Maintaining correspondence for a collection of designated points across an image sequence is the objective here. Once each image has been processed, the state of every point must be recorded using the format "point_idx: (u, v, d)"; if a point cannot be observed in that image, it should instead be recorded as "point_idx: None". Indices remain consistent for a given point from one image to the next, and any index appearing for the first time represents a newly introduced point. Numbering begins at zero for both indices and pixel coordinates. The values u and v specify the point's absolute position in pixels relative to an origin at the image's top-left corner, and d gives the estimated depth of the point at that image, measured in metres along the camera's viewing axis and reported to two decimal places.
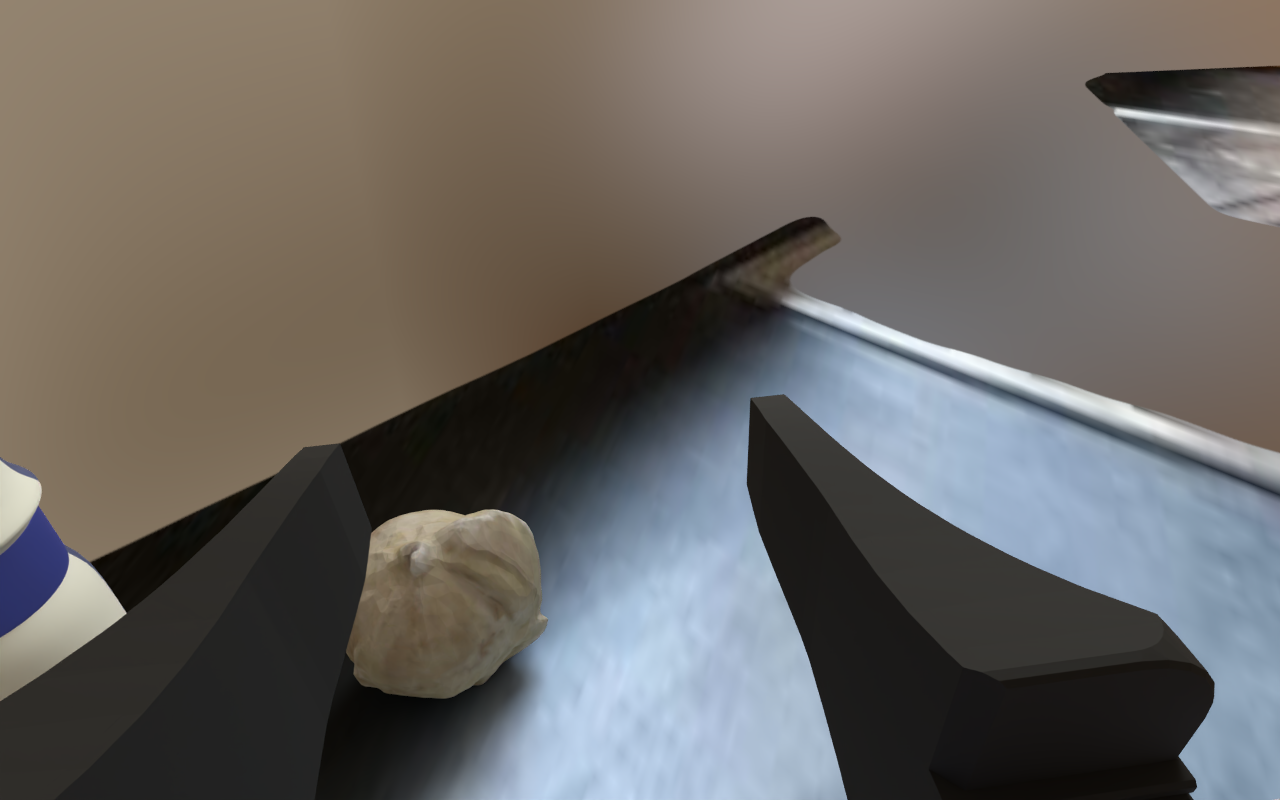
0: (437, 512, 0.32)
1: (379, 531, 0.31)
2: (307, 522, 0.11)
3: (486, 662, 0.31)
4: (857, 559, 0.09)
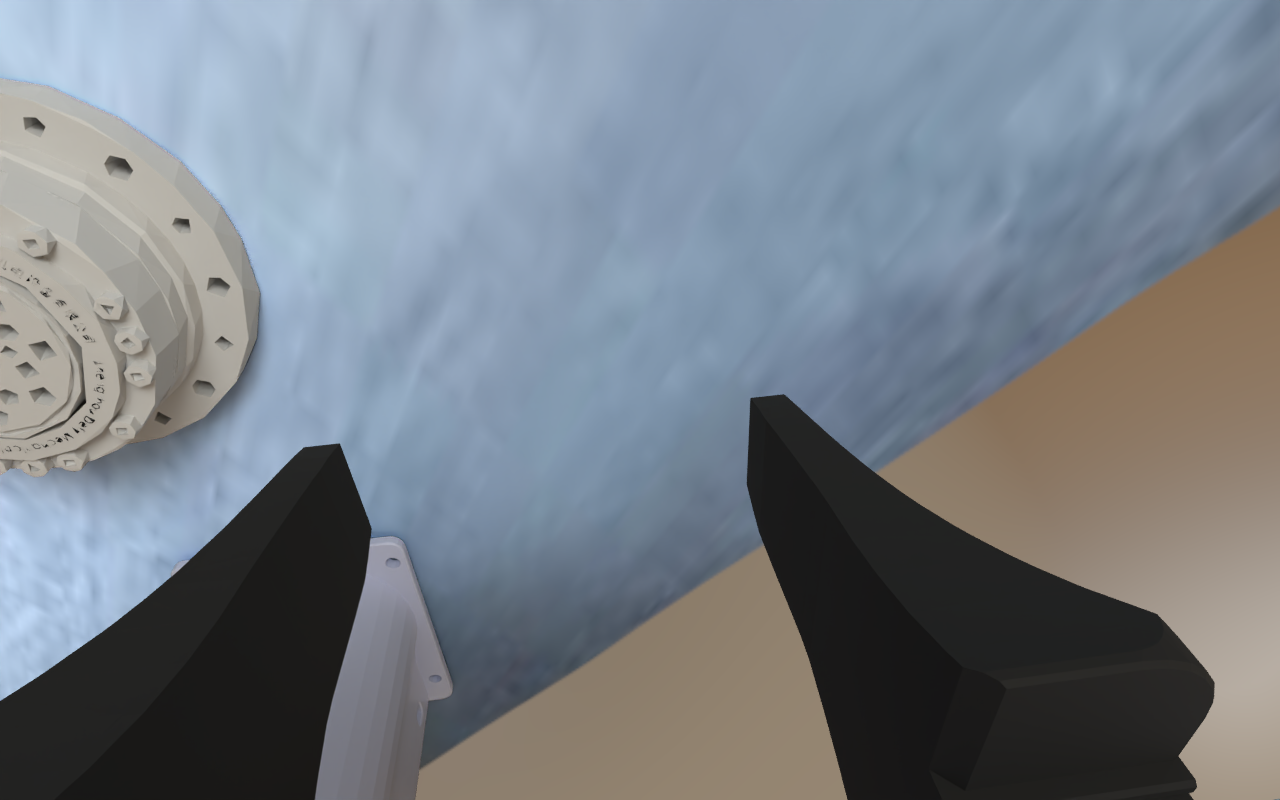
0: None
1: None
2: (307, 523, 0.11)
3: None
4: (857, 559, 0.09)
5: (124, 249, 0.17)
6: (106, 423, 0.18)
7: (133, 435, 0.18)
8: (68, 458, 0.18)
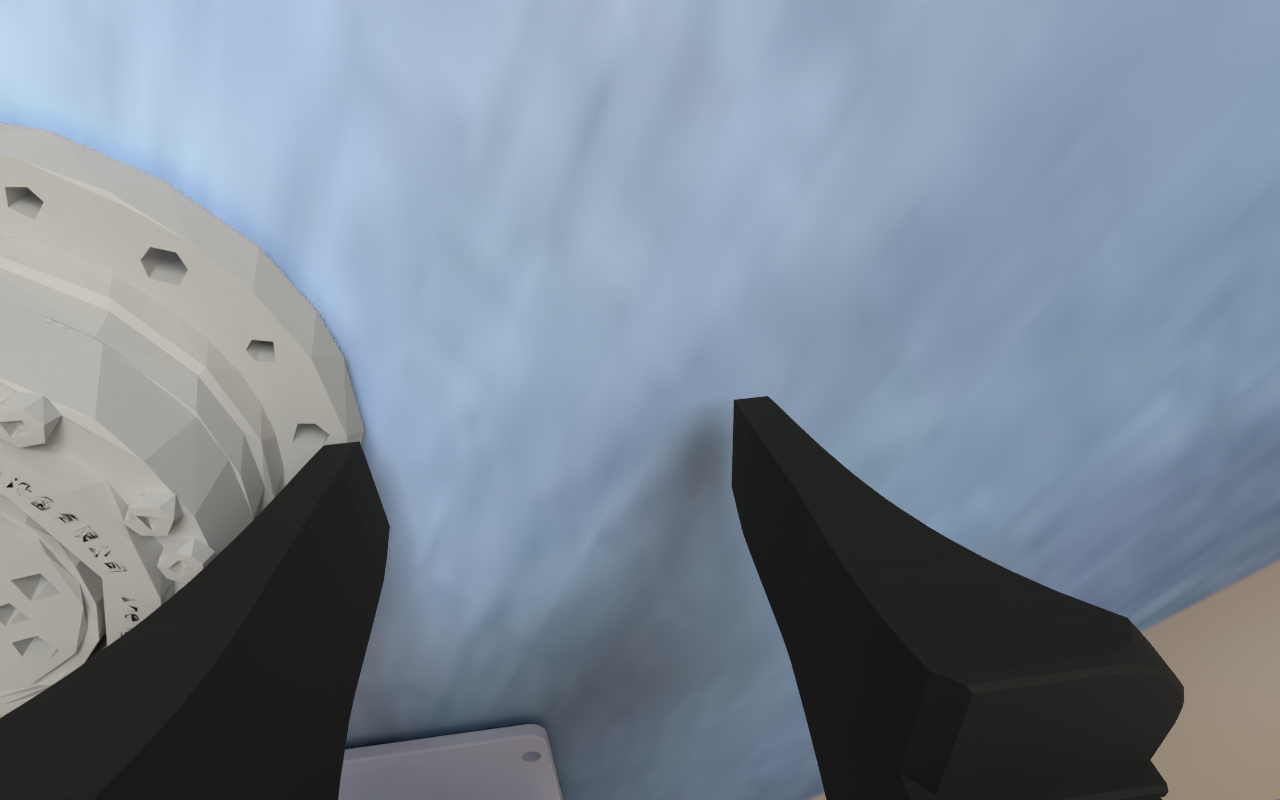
0: None
1: None
2: (330, 520, 0.11)
3: None
4: (833, 562, 0.09)
5: (174, 404, 0.10)
6: None
7: None
8: None
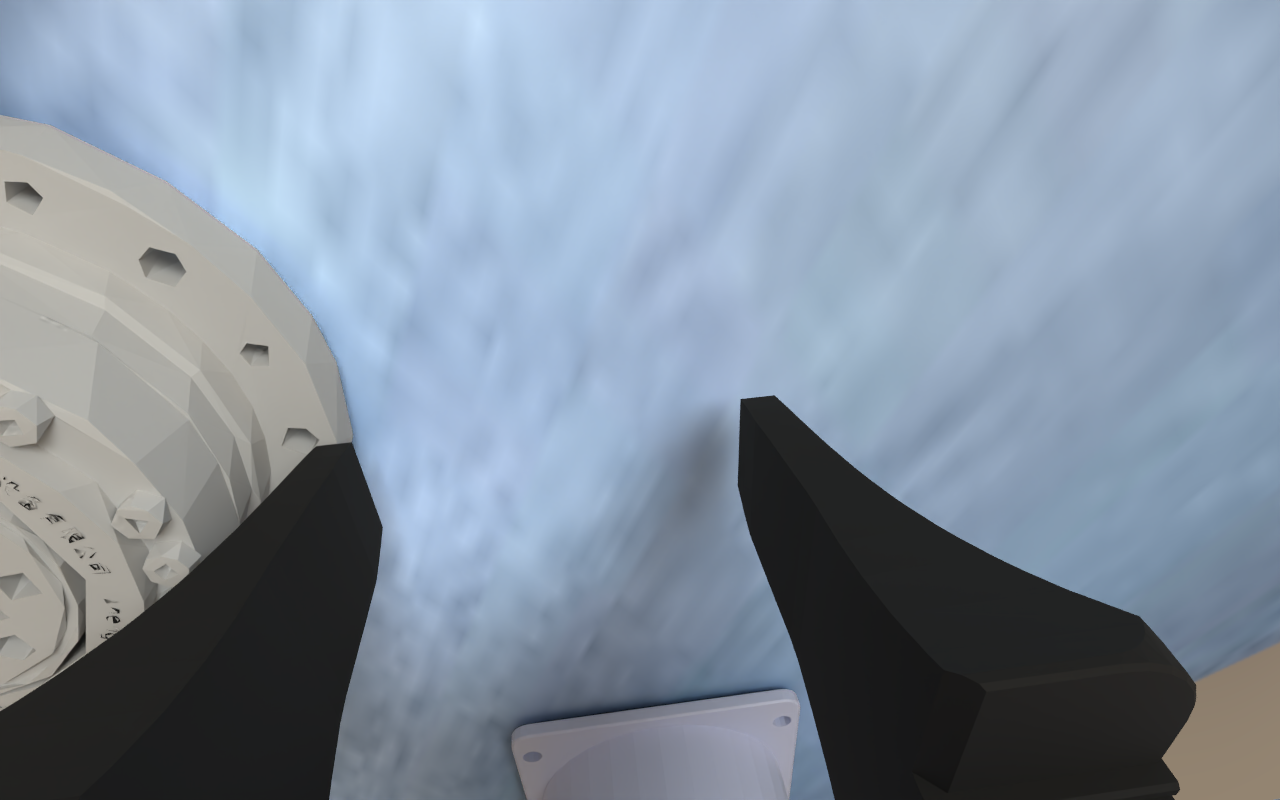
0: None
1: None
2: (322, 521, 0.11)
3: None
4: (843, 561, 0.09)
5: (167, 407, 0.10)
6: None
7: None
8: None
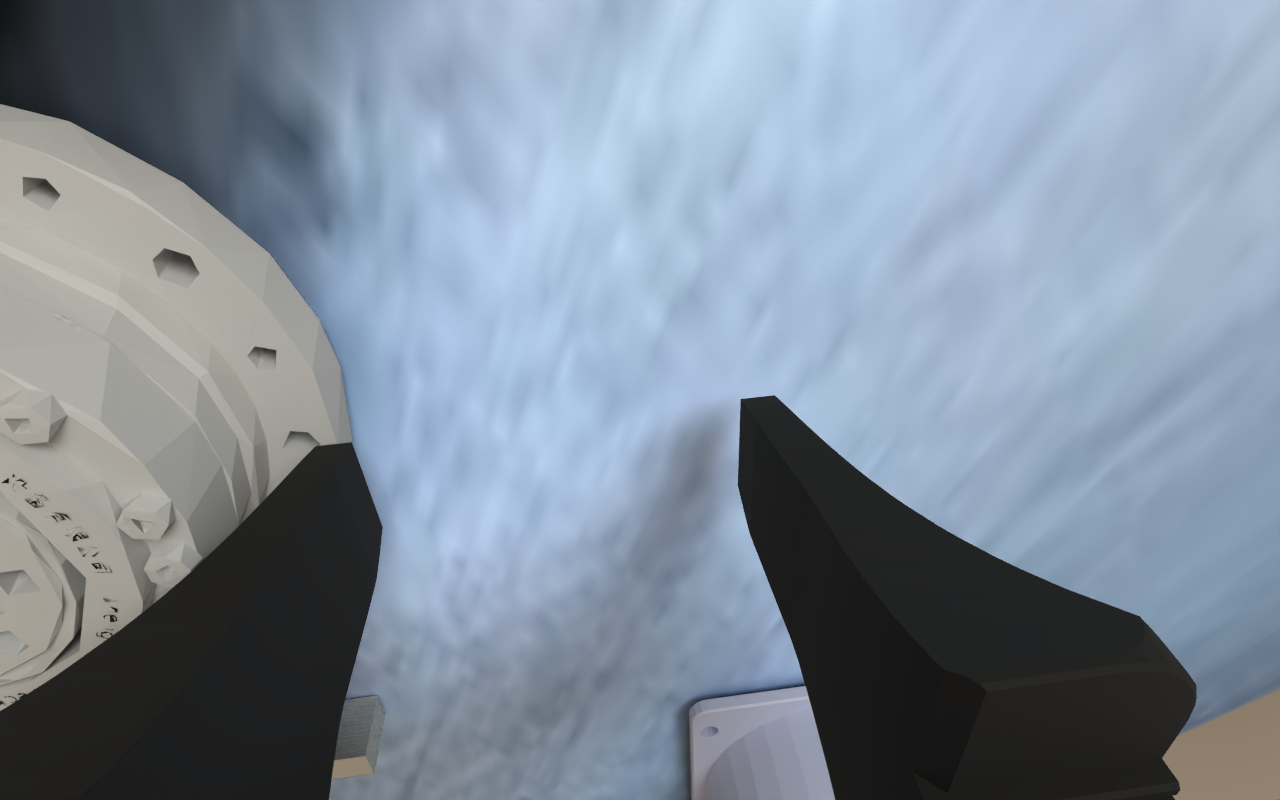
0: None
1: None
2: (321, 521, 0.11)
3: None
4: (843, 561, 0.09)
5: (175, 407, 0.10)
6: None
7: None
8: None
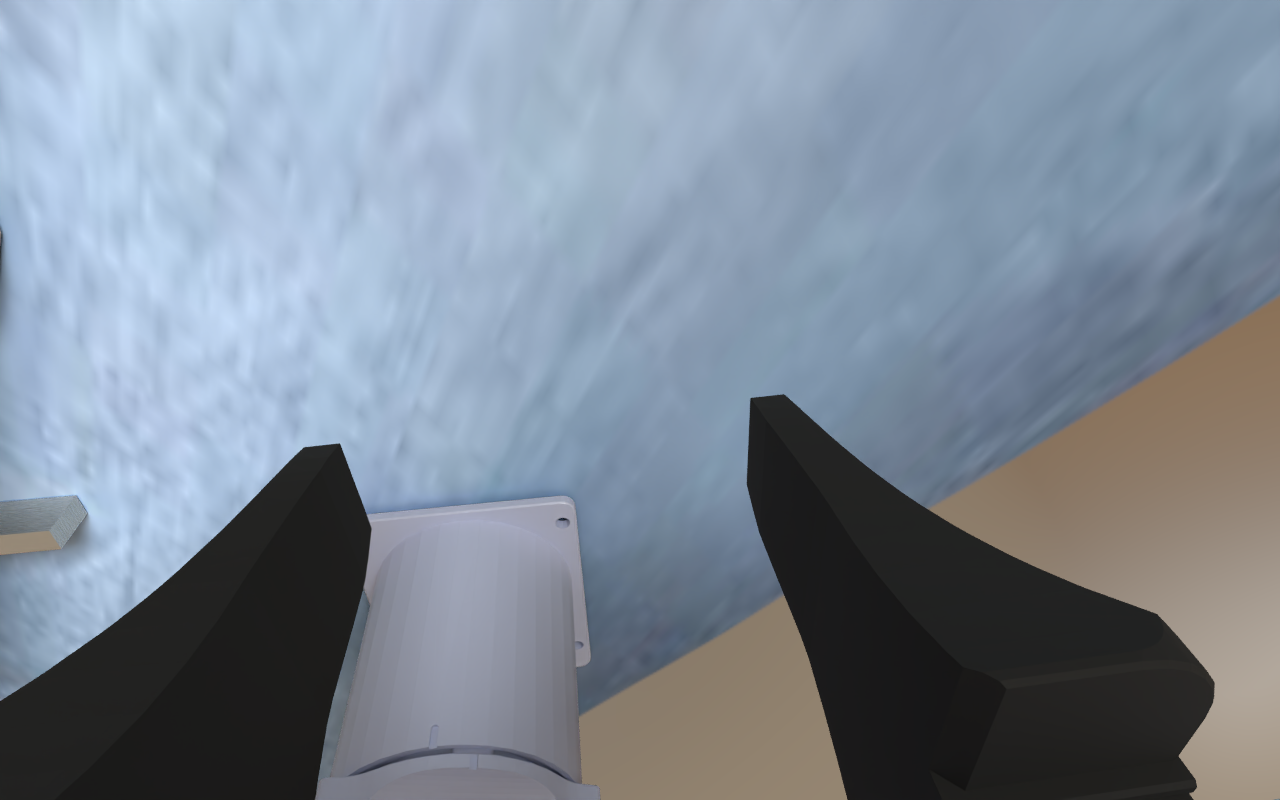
0: None
1: None
2: (307, 522, 0.11)
3: None
4: (857, 559, 0.09)
5: None
6: None
7: None
8: None
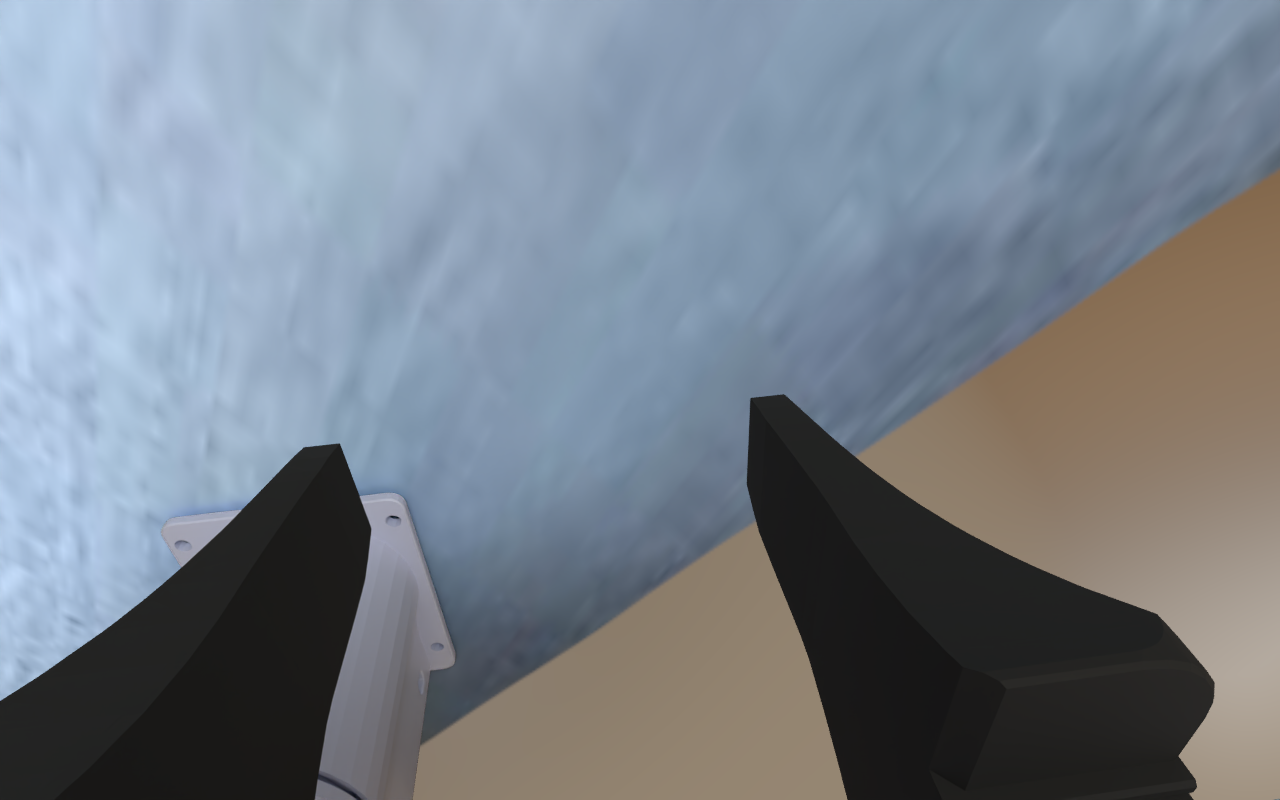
0: None
1: None
2: (307, 522, 0.11)
3: None
4: (857, 559, 0.09)
5: None
6: None
7: None
8: None
